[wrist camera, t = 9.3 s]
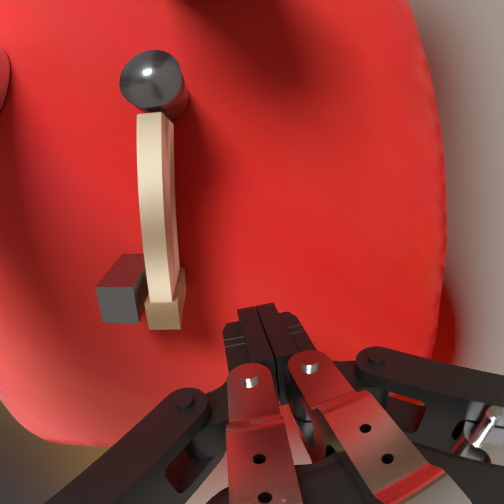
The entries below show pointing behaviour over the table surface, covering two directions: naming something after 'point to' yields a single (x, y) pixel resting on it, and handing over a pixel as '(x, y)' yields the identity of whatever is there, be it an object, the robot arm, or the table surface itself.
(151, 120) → the gate
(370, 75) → the table surface
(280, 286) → the table surface
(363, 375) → the robot arm
